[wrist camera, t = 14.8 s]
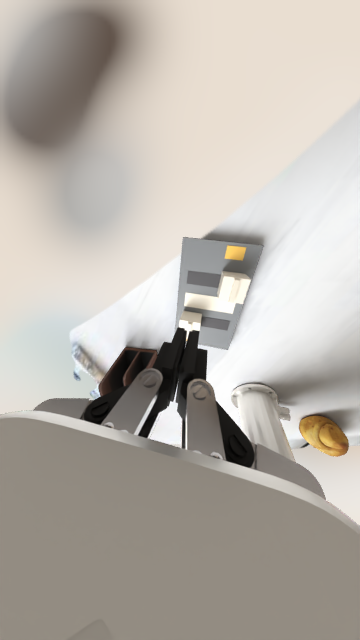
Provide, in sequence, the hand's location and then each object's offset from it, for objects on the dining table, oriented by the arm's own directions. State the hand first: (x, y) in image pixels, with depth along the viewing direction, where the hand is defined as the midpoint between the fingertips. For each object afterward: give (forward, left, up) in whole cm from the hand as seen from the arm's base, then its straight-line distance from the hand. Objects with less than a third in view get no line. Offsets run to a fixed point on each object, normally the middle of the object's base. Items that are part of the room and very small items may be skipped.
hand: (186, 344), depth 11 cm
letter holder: (+13, +32, -21) cm, 41 cm away
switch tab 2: (-5, 0, -19) cm, 19 cm away
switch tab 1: (+1, +9, -19) cm, 21 cm away
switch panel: (-2, +4, -21) cm, 22 cm away
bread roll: (-42, +39, -21) cm, 61 cm away
